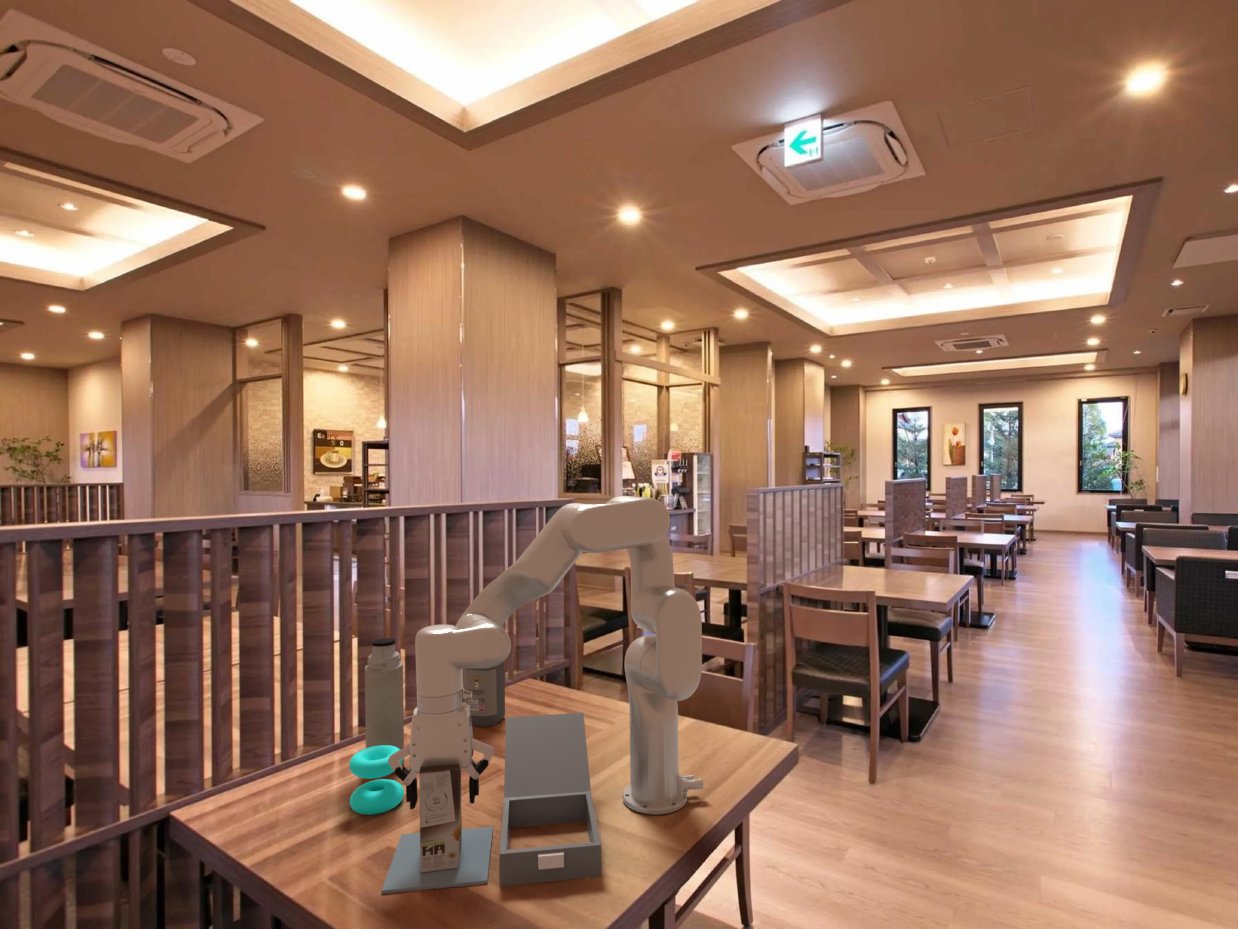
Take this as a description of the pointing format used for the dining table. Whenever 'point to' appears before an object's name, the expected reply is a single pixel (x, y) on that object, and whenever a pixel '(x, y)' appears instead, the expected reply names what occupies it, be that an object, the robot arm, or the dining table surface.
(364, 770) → the donuts
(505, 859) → the case
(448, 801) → the coffee box
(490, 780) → the dining table surface
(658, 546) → the robot arm
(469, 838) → the slate mat
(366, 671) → the thermos bottle
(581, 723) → the case lid
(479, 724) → the liquor
